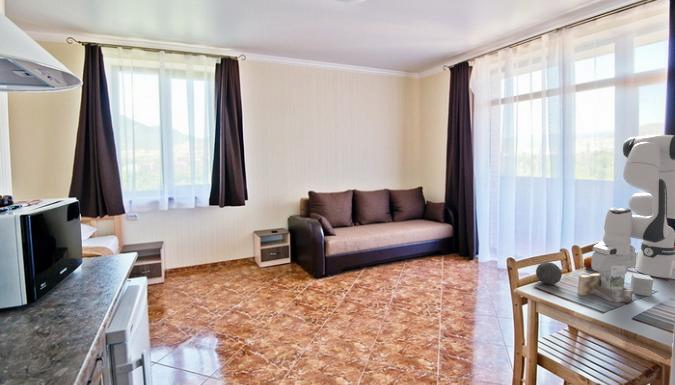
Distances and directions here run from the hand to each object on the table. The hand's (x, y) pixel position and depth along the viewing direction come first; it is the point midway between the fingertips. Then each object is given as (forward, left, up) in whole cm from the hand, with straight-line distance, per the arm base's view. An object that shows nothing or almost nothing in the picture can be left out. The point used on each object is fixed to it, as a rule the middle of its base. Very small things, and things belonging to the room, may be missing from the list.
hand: (612, 279), depth 142 cm
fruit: (-23, -26, -8) cm, 35 cm away
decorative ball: (+14, -18, -8) cm, 24 cm away
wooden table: (0, -1, -7) cm, 7 cm away
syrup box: (0, 0, -7) cm, 7 cm away
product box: (-15, +1, -8) cm, 17 cm away
